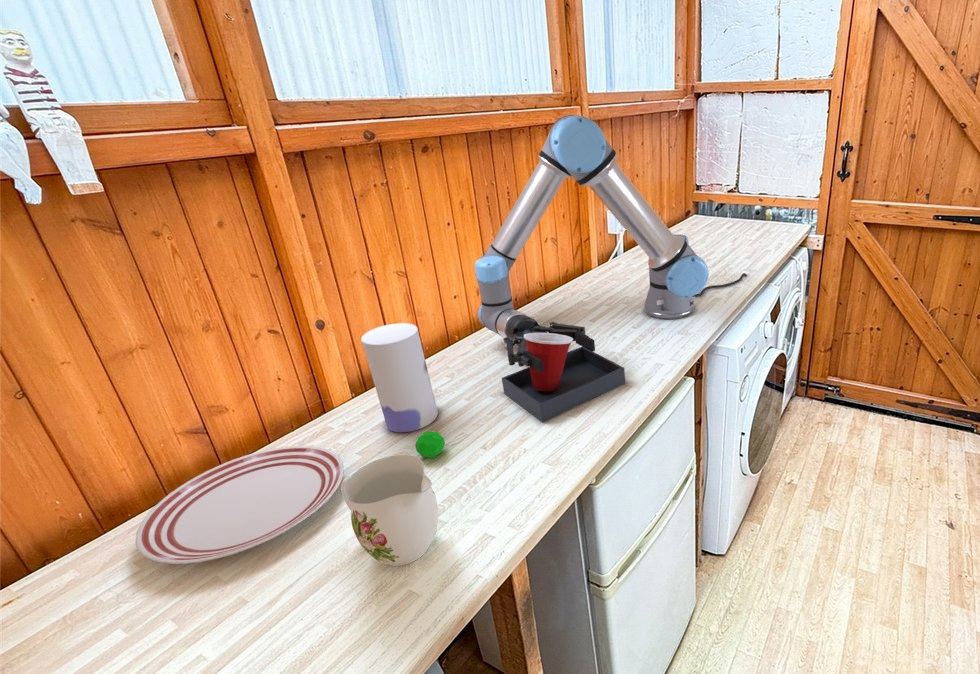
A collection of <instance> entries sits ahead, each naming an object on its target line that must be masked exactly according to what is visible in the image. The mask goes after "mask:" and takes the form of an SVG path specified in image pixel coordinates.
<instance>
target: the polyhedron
mask: <svg viewBox="0 0 980 674" xmlns="http://www.w3.org/2000/svg"><path fill="white" fill-rule="evenodd" d="M445 444H446V441H445V437H443V436H442V434H440V432H438V431H432V430H431V431H430V430H427V431H424V432H423V433H422V434H420V435H419V436H418V437H417V438H416V442H415V445H414V447H415V450H416V452H417V454H419V455H420V456H421V457H422V458H430V459H431V458H432V459H433V458H435V457H436V456H437V455H439V454H441V453H442V451H443V449H444V447H445Z"/></svg>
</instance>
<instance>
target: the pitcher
mask: <svg viewBox="0 0 980 674" xmlns="http://www.w3.org/2000/svg"><path fill="white" fill-rule="evenodd" d="M425 470H426V469H425V463H424V461H423V460H422V459H421V458H419V457H417V456H415V455H411V454H394V455H389V456H384V457H382V458H381V457H380V458H378V459H375V460H373V461H371V462H369V463H367V464H365V465H363V466H362V467H361V468H359V469H358V470H356V471H355V472H354V473H352V474H351V475H348V476H347V477H345V478H344V479H342V480H341V483H340V491H341V494H342V497H343V500H344V502H345V505H346V506H347V508H348V509H349V510H350V522H351V527H352V530H353V534H354V535H355V537H356V539H357V541H358V543H359V544H360V546H361V548H363V549H364V550H365V552H366V553H367V554H368V555H370V556H371V557H372V558H374V559H375V560H376V561H378V562H380V563H382V564H385V565H389V566H393V567H400V566H405V565H408V564H411V563H413V562H415V561H417V560H418V559H420V558H422V556H424V554H425V553H426V552H427V551H428V550H429V548H430V547H431V545H432V543H433V541H434V538H435V536H436V533H437V528H438V523H439V522H438V521H439V507H438V501H437V498H436V494H435V492H434V490H433V488H432V484H433V483H432V481H431V479H430V477H428V476H427V475H426V474H425V473H426V471H425Z"/></svg>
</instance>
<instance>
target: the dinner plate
mask: <svg viewBox="0 0 980 674" xmlns="http://www.w3.org/2000/svg"><path fill="white" fill-rule="evenodd" d="M344 467H345V466H344V463H343V460H342V459H341V458H340V456H339V455H338V454H336V453H335V452H334V451H332V450H330V449H327V448H325V447H320V446H314V445H289V446H288V445H287V446H280V447H274V448H270V449H264V450H261V451H256V452H253V453H250V454H246V455H243V456H241V457H237V458H235V459H232V460H229V461H227V462H224V463H222V464H219V465H217V466H215V467H212V468H211V469H208V470H206V471H204V472H202V473H200V474H199V475H197V476H194V477H193V478H191V479H190V480H188V481H186V482H185V483H183V484H181V485H179V486H178V487H177V488H176V489H174V490H172V491H171V492H169V494H167V495H166V496H165V497H164V498H162V499H161V500H160V501H159V502H157V503H156V504H155V505H154V506H153V507H152V508H151V510H150V511H149V512H148V513H147V514H145V515H146V516H145V517H144V518H143V519H142V521H141V523H140V524H139V526H138V528H137V531H136V535H135V545H136V548H137V550H138V552H139V553H140V554H141V555H142V556H143V557H145V558H147V559H148V560H151V561H153V562H157V563H162V564H169V565H183V564H185V565H186V564H196V563H201V562H208V561H213V560H217V559H221V558H225V557H228V556H232V555H235V554H239V553H241V552H243V551H247V550H249V549H252V548H254V547H257V546H259V545H262V544H263V543H266V542H268V541H271V540H273V539H274V538H276V537H278V536H280V535H282V534H283V533H285V532H287V531H289V530H291V529H292V528H294V527H295V526H297V525H299V524H300V523H301V522H303V521H305V520H306V519H307V518H308V517H310V516H312V515H313V514H314V513H316V512H317V511H318V510H319V509H320V508H321V507H323V506H324V505H325V504H326V502H328V501H329V500H330V499H331V498H332V496H333V495H334V494H335V492H336V491H337V489H338V488H339V486H340V485H341V483H342V481H343V477H344V472H345V468H344Z"/></svg>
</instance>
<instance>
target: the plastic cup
mask: <svg viewBox="0 0 980 674" xmlns="http://www.w3.org/2000/svg"><path fill="white" fill-rule="evenodd" d="M524 338H525V341H526V345H527V350H528V352H529V353H531V354H532V355H534V356H536V357H537V358H539V359H541V360H542V362H543V369H544V372H542V373H540V372H538V371H537V370H535V369H534V368H532V367H530V366H528V367H530V373H531V380H532V385H533V388H534V389H536V390H539V391H554V390H556V389H558V386H559V384H560V379H561V375H562V373H563V368H564V364H565V360H566V356H567V353H568V352H569V349H570V346H571V344H572V343H573V342H574V341H573V338H571V337H569V336H565V335H560V334H553V333H548V332H547V333H528V334H525V335H524Z"/></svg>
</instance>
